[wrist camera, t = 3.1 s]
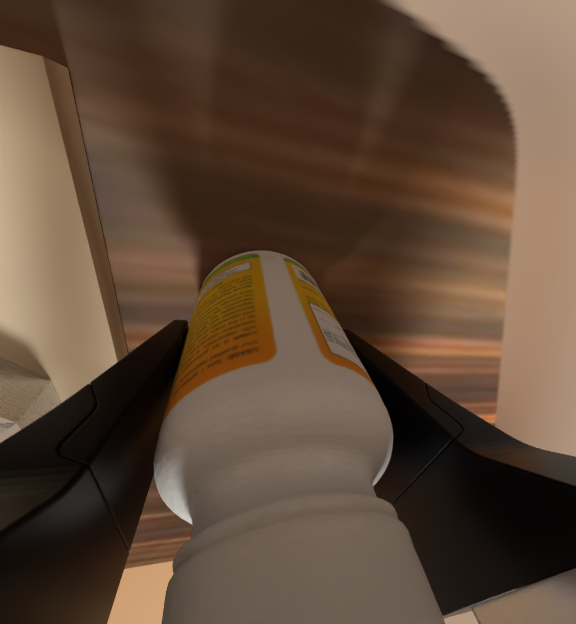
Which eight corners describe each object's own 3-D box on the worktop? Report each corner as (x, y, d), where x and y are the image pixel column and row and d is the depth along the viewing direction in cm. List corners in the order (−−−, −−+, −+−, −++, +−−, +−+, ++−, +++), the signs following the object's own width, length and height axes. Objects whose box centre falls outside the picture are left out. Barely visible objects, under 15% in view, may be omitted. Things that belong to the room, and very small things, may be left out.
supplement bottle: (197, 345, 12) (113, 735, 4) (199, 236, 9) (-58, 795, 1) (302, 350, 13) (394, 652, 5) (331, 257, 11) (614, 592, 3)
